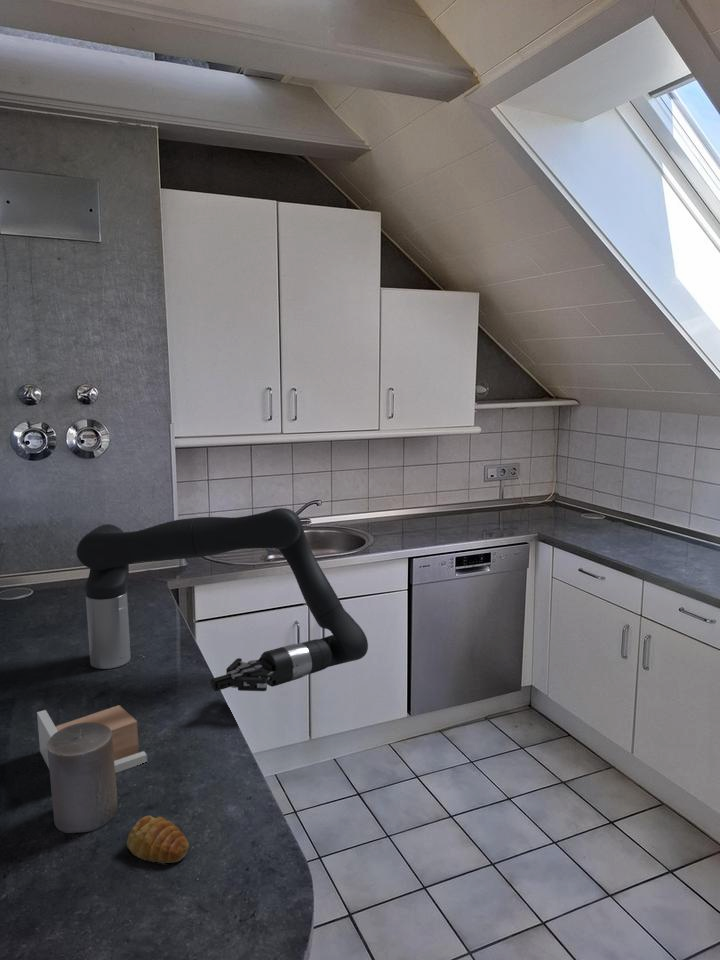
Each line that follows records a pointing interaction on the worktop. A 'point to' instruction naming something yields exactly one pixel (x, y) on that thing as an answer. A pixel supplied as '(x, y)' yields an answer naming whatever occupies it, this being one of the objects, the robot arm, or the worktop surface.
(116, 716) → the wooden block
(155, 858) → the pastry
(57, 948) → the worktop surface
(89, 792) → the pillar candle
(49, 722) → the white frame piece
